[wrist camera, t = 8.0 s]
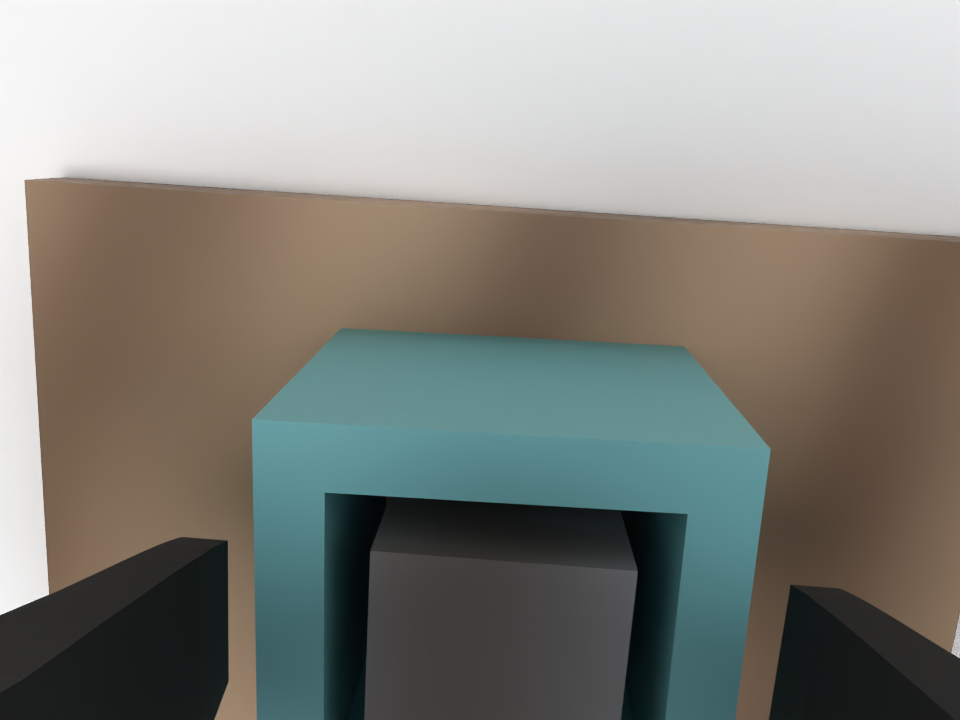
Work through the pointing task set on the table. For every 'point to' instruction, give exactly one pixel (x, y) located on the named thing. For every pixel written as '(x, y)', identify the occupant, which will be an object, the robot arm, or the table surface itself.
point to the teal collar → (504, 497)
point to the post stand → (506, 313)
